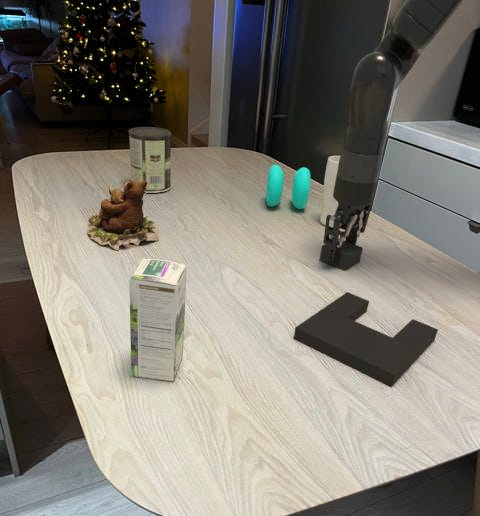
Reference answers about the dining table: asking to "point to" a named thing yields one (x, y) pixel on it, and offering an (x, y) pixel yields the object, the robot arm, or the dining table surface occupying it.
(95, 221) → the bear figurine
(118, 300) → the dining table surface
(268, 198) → the teal wheel pair
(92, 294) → the dining table surface
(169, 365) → the syrup box
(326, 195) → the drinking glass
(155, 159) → the coffee can
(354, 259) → the graphite block
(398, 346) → the black notched slab
